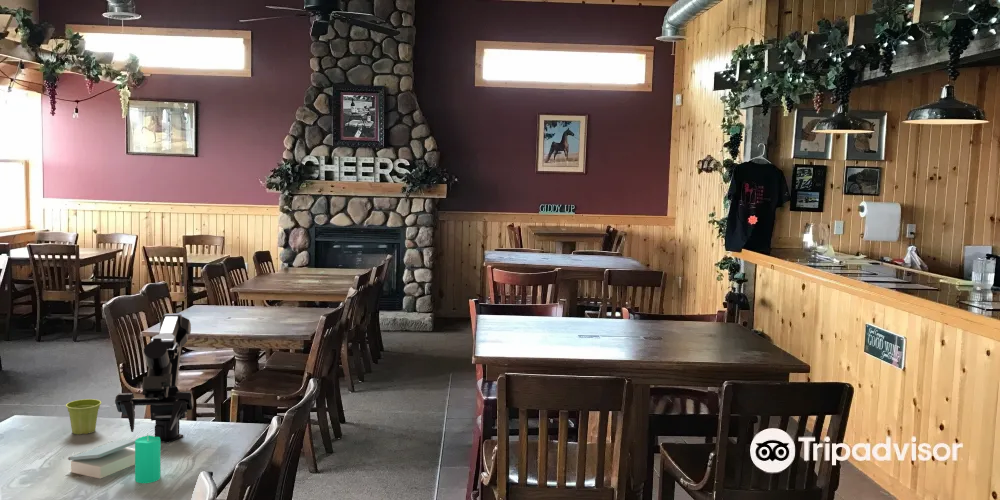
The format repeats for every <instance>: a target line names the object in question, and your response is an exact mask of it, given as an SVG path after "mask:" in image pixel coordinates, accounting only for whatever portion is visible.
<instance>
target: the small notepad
mask: <svg viewBox="0 0 1000 500" xmlns="http://www.w3.org/2000/svg"><path fill="white" fill-rule="evenodd" d="M132 466H135V447H133V448H132V447H130V446H128V447H126V448H123V449H121V450H118V451H115V452H113V453H110V454H108V455H105V456H102V457H100V458H90V459H79V460H70V473H72V474H77V475H82V476H87V477H91V478H95V479H103V478H106V477H109V476H110V475H113V474H115V473H117V472H120V471H123V470H124V469H127V468H129V467H132Z"/></svg>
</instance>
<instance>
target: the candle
mask: <svg viewBox="0 0 1000 500" xmlns="http://www.w3.org/2000/svg"><path fill="white" fill-rule="evenodd" d="M136 439H137V440H136V441H135V444H134V449H135V465H134V481H135V483H138V484H150V483H155V482H157V481H159V480H160V479H161V477H162V476H161V467H162V465H161V457H162V456H161V452H162V451H161V450H162V449H161V448H162V447H161V443H162V442H161V439H160V437H155V435H150V434H148V435H144V436H141V437H137V438H136Z"/></svg>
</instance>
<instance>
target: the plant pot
mask: <svg viewBox="0 0 1000 500" xmlns="http://www.w3.org/2000/svg"><path fill="white" fill-rule="evenodd" d="M101 405H102V401H101V400H100V399H96V398H95V399H94V398H86V399H85V398H84V399H82V398H81V399H76V400H72V401H69V402H68V403H66V404H65V408H67V412H68V414H69V419H70V427H71V433H72V434H74V435H82V434H84V435H88V433H89V434H91V433H94V432H95V431H96V426H97V419H98V414H99V413H98V412H99V410H100V406H101Z"/></svg>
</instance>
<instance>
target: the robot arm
mask: <svg viewBox="0 0 1000 500" xmlns="http://www.w3.org/2000/svg"><path fill="white" fill-rule="evenodd" d="M191 326H192V324H191V320H190V319H189V318H187V317H185V316H183V315H182V314H180V313H165V314H163V317H162V318H161V319H160V324H159V332H158V334H156V335H154V336H152V337H151V339H150V341H149V342H147V344H146V345H145V346H144V348H143V355H144V359H145V363H146V366H147V368H148V371H147V376H143V377H142V386H141V389H142V395H143V396H144V397H134V396H135V395H134V393H133V392H124V393H123V392H122V393H118V394H116V396H115V400H114V403H115V406H116V409H117V412H119V413H122V415H125V416H127V419H128V422H129V423H128V424H129V427H130V432H131V433H134V430H135V419H136V418H135V417H136V412H135V408H136V406H150V407H149V408H150V409H149V410H150V421H151V422H153V421H155V425H154V437H160V439H161V443H171V442H174V441H176V440H179V439H181V438H183V437H184V434H181V433H180V420H181V421H182V419H185V418H186V413H188V411H192V410H193V409H194V397H193V393H192V391H189V390H188V391H180V389H179V388H178V378H179V371H180V362H181V353H182V348H183V347H184V346H185V344H186V343H188V341H189V340H188V339H189V335H191V332H192V331H191V330H192V327H191Z"/></svg>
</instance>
